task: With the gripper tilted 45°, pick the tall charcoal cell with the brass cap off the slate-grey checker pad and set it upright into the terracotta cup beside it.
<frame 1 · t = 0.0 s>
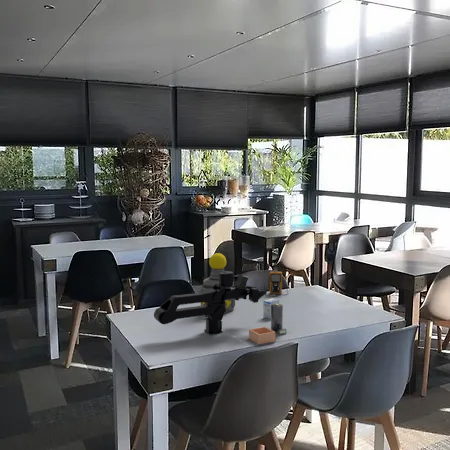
hand: (261, 290, 234), 17 cm above the table, tool horizontal, fingers open, 9 cm apart
medicine box: (271, 317, 248), on the table
checker pad: (276, 332, 223), on the table
cell: (276, 331, 223), resting on checker pad
decorative lamp: (217, 309, 263), on the table
multimeter: (275, 295, 294), on the table
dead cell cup: (262, 340, 212), on the table
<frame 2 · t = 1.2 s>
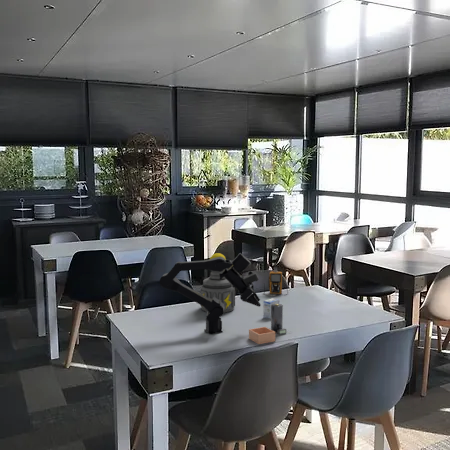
hand: (259, 303, 222), 13 cm above the table, tool tilted 45°, fingers open, 9 cm apart
nothing on the table moved.
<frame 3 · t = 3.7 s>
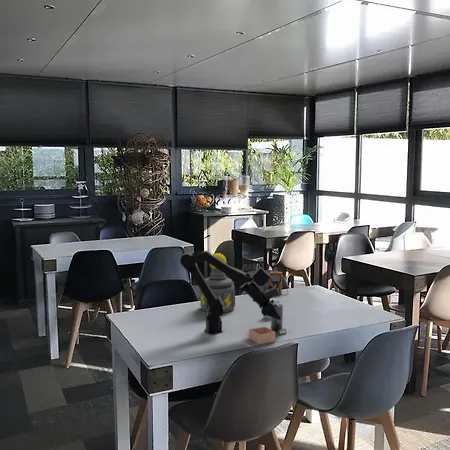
hand: (279, 317, 222), 7 cm above the table, tool tilted 45°, fingers closed on cell, 5 cm apart
cell: (276, 331, 223), point 1 cm above the table, touching checker pad, gripper
everything else where it was.
when the fingers open (8 cm above the table, at t = 7.8 s): cell drops 1 cm, resting on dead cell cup.
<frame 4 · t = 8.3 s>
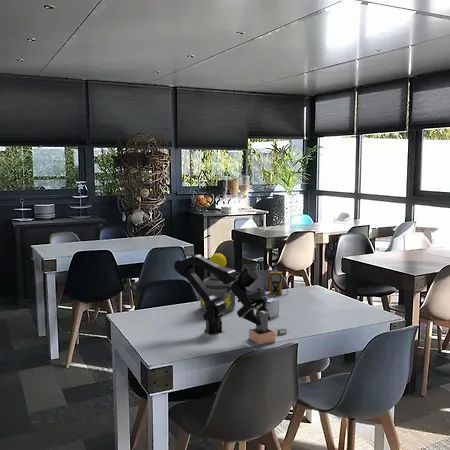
hand: (265, 322, 210), 8 cm above the table, tool tilted 45°, fingers open, 9 cm apart
cell: (261, 339, 211), point 1 cm above the table, touching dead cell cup
everything else where it was.
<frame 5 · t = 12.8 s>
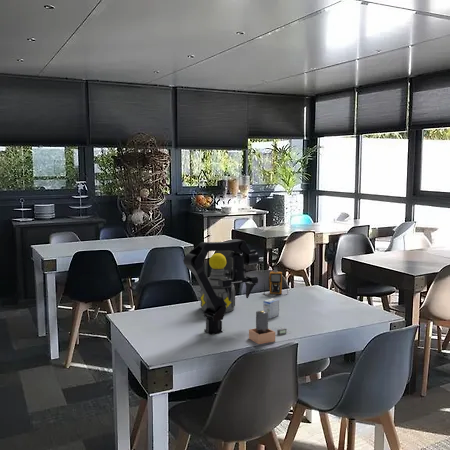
hand: (238, 299, 231), 13 cm above the table, tool pointing down, fingers open, 9 cm apart
nothing on the table moved.
at the end: cell 0.0 cm off-centre on the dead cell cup, point 0.5 cm above the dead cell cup's base; cell tilted 0°; the gripper is holding nothing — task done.
